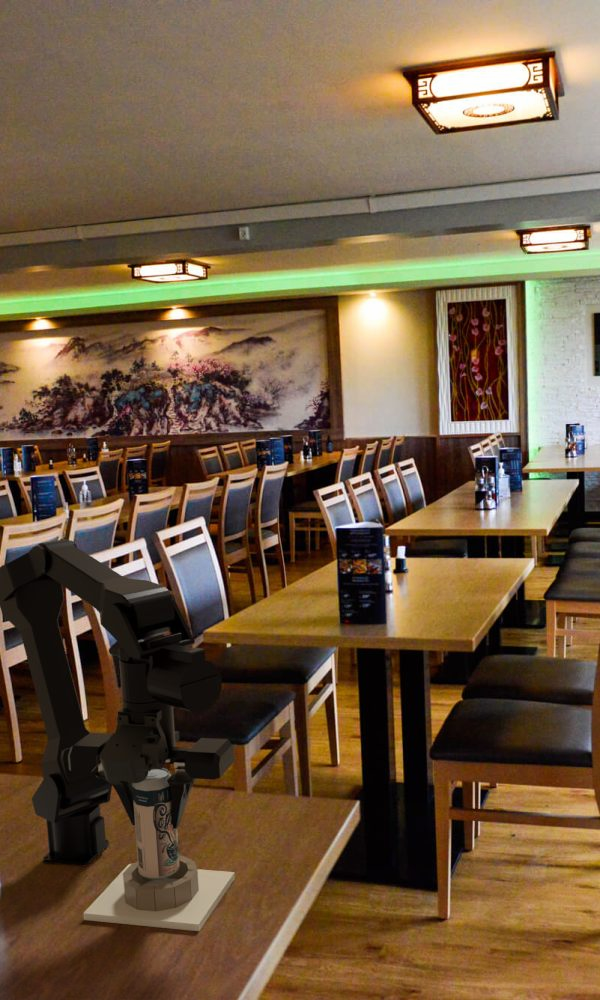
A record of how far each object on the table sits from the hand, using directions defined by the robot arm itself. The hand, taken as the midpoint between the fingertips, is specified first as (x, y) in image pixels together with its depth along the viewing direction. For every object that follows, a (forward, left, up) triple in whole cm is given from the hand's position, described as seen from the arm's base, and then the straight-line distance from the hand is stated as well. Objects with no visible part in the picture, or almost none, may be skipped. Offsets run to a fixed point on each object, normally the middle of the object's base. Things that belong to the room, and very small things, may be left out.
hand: (156, 825), depth 114 cm
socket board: (0, 0, -9) cm, 9 cm away
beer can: (0, 0, -6) cm, 6 cm away
